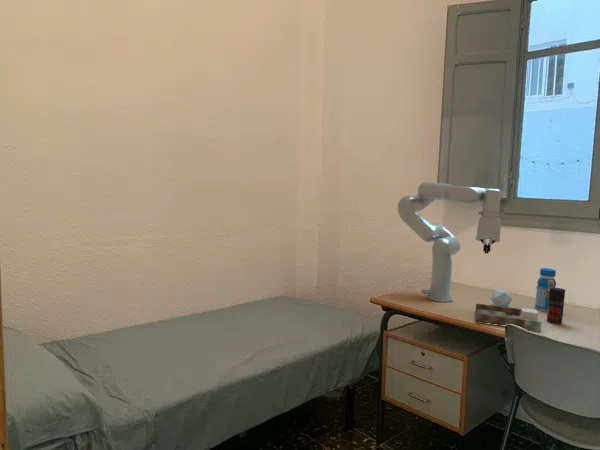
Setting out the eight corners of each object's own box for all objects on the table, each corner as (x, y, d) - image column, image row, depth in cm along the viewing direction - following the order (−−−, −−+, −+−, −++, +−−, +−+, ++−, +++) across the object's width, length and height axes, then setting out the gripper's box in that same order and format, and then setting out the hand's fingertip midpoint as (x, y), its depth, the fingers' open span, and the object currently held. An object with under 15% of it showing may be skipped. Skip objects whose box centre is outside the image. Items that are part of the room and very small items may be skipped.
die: (508, 311, 228) (518, 294, 230) (492, 301, 229) (501, 284, 231) (500, 313, 236) (510, 296, 238) (485, 303, 237) (494, 286, 239)
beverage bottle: (532, 309, 231) (536, 269, 229) (536, 306, 238) (540, 266, 236) (552, 313, 226) (556, 271, 224) (555, 309, 233) (559, 269, 231)
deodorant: (543, 319, 214) (547, 287, 212) (556, 320, 214) (559, 287, 213) (551, 324, 208) (555, 290, 206) (564, 324, 208) (568, 290, 207)
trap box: (476, 322, 204) (477, 313, 204) (475, 311, 222) (476, 303, 222) (540, 331, 196) (541, 322, 196) (534, 319, 214) (535, 310, 214)
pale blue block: (521, 320, 204) (522, 311, 204) (520, 316, 210) (521, 308, 209) (537, 322, 202) (538, 313, 201) (535, 318, 207) (536, 309, 207)
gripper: (473, 214, 223) (469, 252, 225) (507, 216, 218) (503, 256, 220) (473, 213, 230) (469, 250, 232) (506, 215, 225) (502, 253, 227)
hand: (486, 253), depth 226 cm, fingers closed
